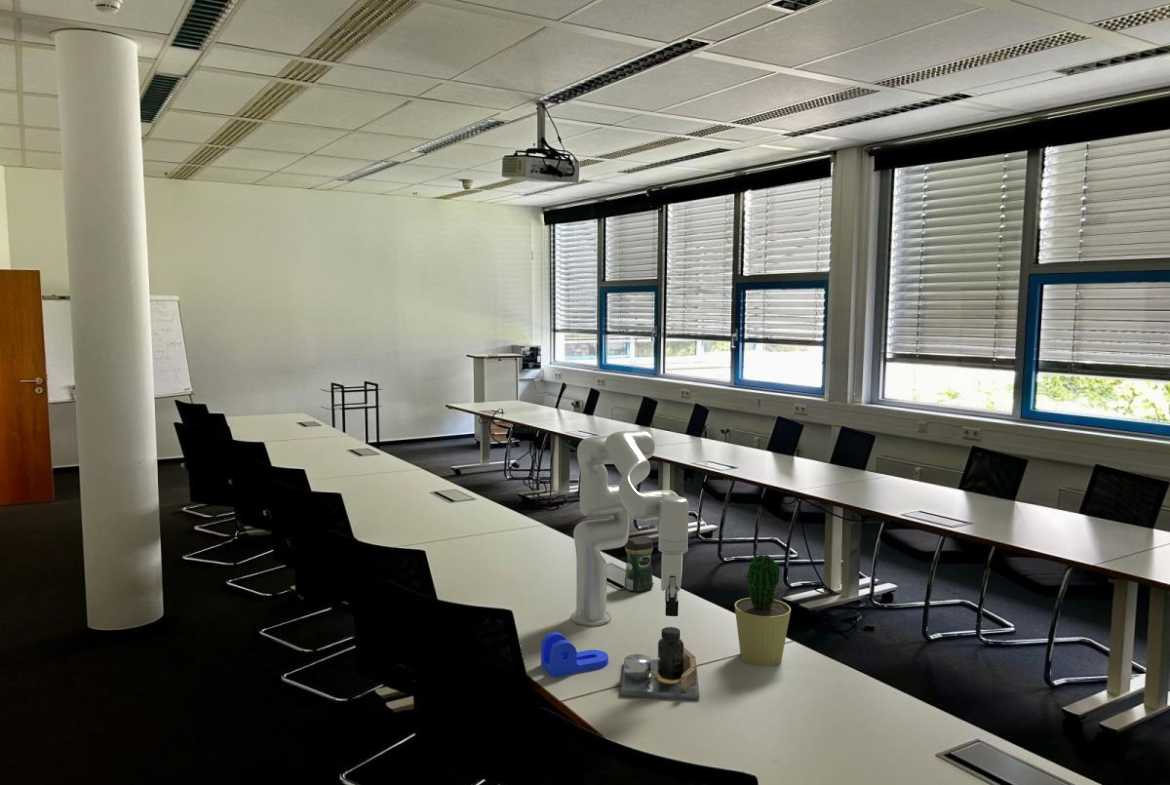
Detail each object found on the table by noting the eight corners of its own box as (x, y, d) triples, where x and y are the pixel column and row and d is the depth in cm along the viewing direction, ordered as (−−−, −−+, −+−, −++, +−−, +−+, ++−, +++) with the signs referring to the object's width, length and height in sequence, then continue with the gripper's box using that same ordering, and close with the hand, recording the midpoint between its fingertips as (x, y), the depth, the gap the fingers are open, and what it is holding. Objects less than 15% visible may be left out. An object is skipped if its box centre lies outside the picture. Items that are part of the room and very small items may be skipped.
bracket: (552, 678, 214) (552, 645, 213) (540, 665, 221) (541, 633, 220) (613, 666, 221) (613, 634, 221) (600, 655, 229) (600, 624, 228)
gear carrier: (624, 663, 223) (624, 644, 222) (695, 666, 221) (696, 647, 220) (621, 696, 203) (621, 675, 203) (699, 700, 202) (699, 678, 201)
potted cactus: (748, 672, 218) (751, 563, 215) (724, 649, 233) (726, 547, 230) (799, 666, 222) (803, 559, 219) (772, 644, 237) (775, 544, 234)
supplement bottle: (681, 668, 216) (682, 625, 215) (685, 680, 209) (686, 635, 208) (655, 668, 215) (656, 625, 214) (658, 680, 209) (659, 635, 208)
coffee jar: (643, 583, 291) (644, 532, 289) (656, 589, 284) (656, 538, 282) (620, 587, 286) (621, 536, 285) (632, 594, 280) (633, 541, 278)
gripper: (658, 534, 218) (657, 596, 219) (658, 553, 200) (656, 620, 202) (686, 536, 217) (685, 597, 219) (688, 555, 200) (687, 622, 201)
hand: (671, 608), depth 210 cm, fingers open, 9 cm apart
